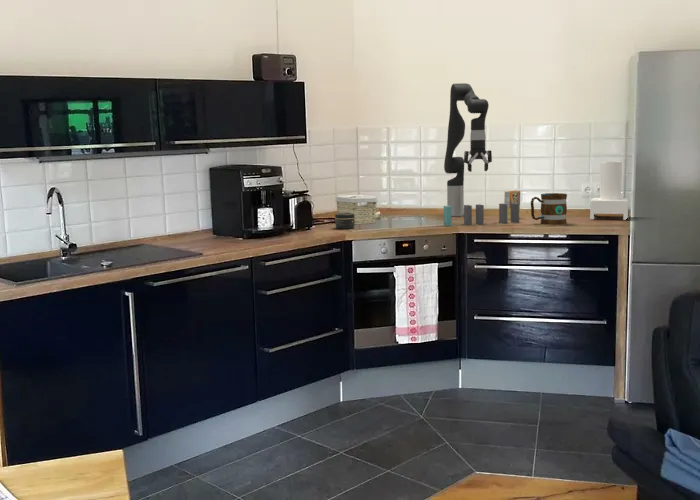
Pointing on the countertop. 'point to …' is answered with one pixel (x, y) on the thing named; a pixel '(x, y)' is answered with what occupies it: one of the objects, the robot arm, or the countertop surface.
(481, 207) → the domino
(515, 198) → the candy box
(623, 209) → the paper towel holder
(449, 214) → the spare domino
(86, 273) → the countertop surface
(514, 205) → the domino
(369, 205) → the storage basket
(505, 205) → the domino
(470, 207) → the domino
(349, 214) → the jar
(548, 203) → the mug
